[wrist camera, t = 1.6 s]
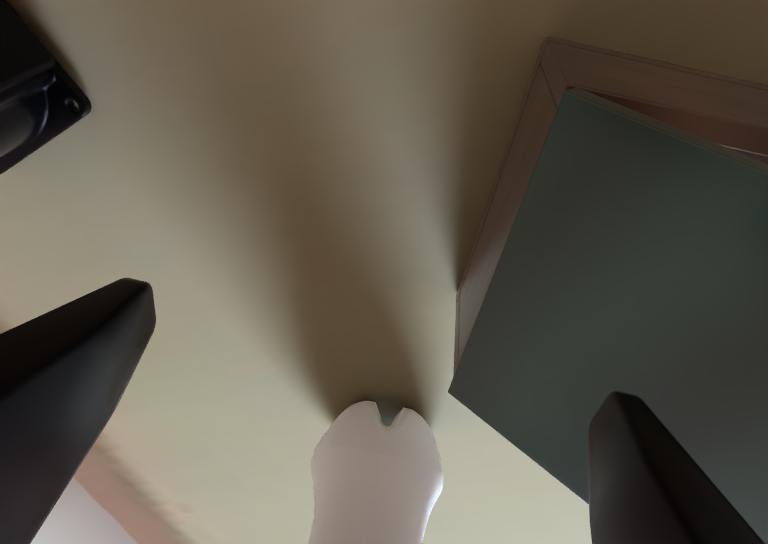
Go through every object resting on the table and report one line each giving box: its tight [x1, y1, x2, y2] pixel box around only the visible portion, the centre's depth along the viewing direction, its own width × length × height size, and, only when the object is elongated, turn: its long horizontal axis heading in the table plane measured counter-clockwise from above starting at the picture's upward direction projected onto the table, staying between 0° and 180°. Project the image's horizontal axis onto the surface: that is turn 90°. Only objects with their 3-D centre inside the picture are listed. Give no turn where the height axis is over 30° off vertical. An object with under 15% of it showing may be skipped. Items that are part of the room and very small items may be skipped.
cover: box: [448, 88, 768, 544], centre depth 13 cm, size 14×11×1 cm
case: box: [453, 36, 768, 377], centre depth 19 cm, size 13×11×5 cm
